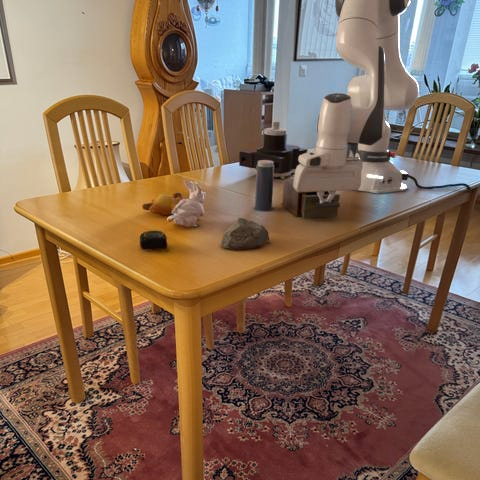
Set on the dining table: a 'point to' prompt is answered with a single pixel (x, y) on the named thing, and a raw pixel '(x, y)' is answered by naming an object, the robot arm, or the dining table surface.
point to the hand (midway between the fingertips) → (324, 205)
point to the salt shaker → (264, 185)
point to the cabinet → (291, 197)
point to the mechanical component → (274, 152)
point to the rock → (244, 235)
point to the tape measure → (153, 240)
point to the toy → (163, 204)
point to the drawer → (318, 205)
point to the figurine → (189, 206)
